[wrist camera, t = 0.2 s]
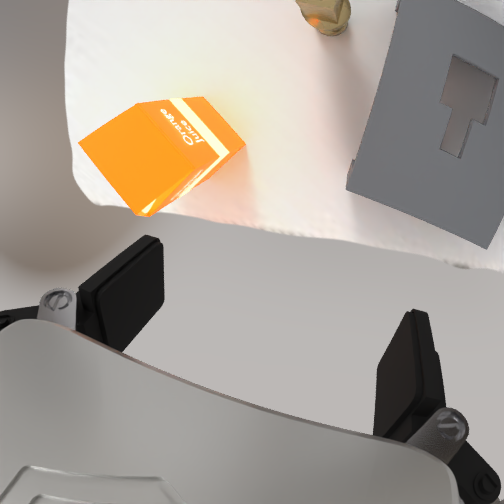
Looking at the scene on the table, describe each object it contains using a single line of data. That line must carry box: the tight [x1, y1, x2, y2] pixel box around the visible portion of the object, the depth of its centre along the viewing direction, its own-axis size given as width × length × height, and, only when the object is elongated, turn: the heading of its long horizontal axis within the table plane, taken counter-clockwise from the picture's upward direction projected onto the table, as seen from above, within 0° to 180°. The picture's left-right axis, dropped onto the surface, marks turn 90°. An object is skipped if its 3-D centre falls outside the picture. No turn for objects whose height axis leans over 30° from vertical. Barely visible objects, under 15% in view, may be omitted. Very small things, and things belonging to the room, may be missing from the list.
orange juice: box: [78, 97, 246, 217], centre depth 33 cm, size 8×9×20 cm
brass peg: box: [296, 0, 351, 36], centre depth 25 cm, size 5×5×12 cm
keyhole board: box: [346, 0, 504, 249], centre depth 28 cm, size 24×18×7 cm
